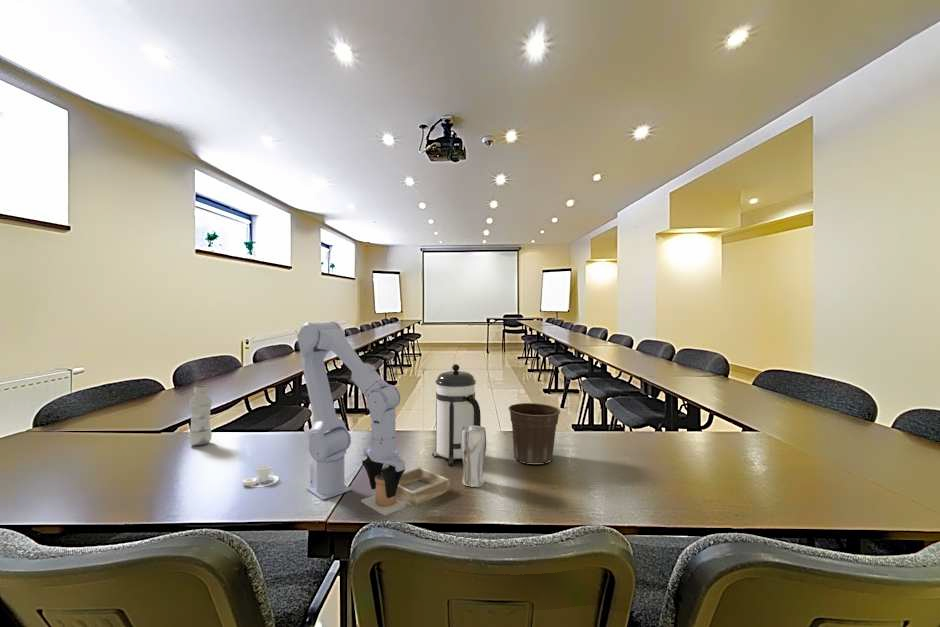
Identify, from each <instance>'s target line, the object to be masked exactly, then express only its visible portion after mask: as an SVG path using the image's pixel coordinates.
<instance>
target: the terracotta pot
mask: <svg viewBox="0 0 940 627" xmlns="http://www.w3.org/2000/svg"><path fill="white" fill-rule="evenodd" d="M386 468H389V466H388V465H386V466H383V467H382V470H383V469H386ZM375 482H376V489H375V494H374V495H375V503H376V504H377V505H379V506H390V505H393V504H395V503H396V501H397V497H396V495H395V496H393V497H391V498H387V496H386V488H385V481H384V477H383V475H382V472H381V474H378V475H376V476H375Z"/></svg>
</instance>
